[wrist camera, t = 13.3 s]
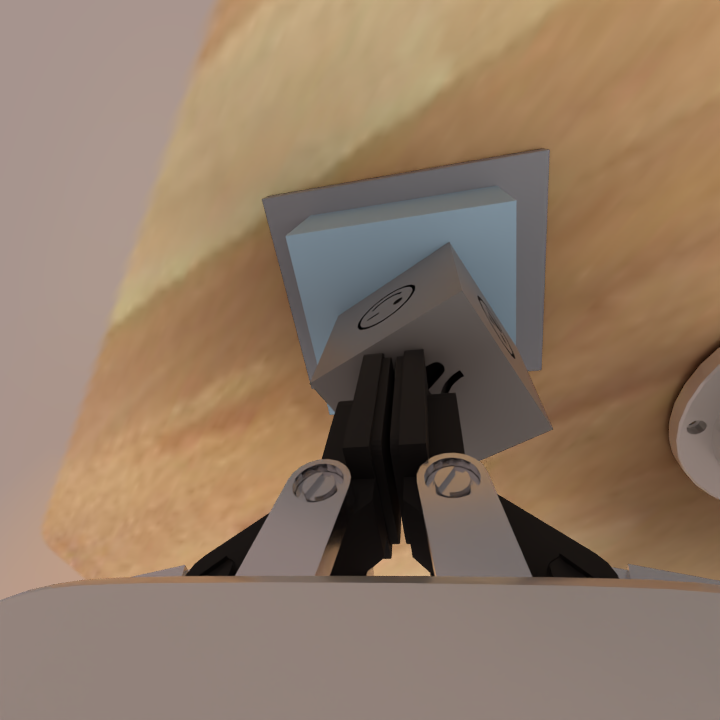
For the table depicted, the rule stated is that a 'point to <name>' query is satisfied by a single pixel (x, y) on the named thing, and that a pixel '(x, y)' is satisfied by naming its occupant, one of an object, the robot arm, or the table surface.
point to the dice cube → (440, 352)
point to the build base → (457, 175)
